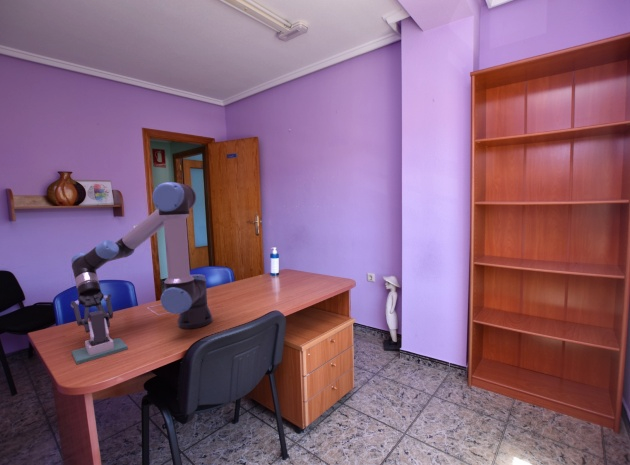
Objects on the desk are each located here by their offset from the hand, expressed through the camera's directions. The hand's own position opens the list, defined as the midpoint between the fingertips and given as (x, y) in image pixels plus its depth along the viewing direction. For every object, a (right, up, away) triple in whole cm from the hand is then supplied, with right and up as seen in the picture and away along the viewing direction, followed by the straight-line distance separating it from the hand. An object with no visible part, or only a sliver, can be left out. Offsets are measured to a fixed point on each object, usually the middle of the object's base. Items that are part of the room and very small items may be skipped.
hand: (100, 336), depth 118 cm
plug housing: (-3, -4, +3) cm, 5 cm away
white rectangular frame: (-3, -3, +54) cm, 54 cm away
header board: (-2, -7, +3) cm, 8 cm away
